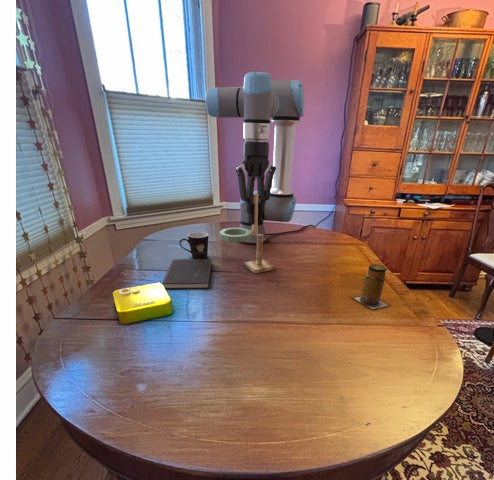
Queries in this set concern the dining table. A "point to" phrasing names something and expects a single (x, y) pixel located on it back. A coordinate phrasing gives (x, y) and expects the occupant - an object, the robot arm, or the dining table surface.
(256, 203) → the hoop
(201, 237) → the coffee mug
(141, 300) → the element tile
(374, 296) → the condiment
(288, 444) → the dining table surface
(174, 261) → the hardcover book
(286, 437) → the dining table surface
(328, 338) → the dining table surface
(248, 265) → the post
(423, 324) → the dining table surface
